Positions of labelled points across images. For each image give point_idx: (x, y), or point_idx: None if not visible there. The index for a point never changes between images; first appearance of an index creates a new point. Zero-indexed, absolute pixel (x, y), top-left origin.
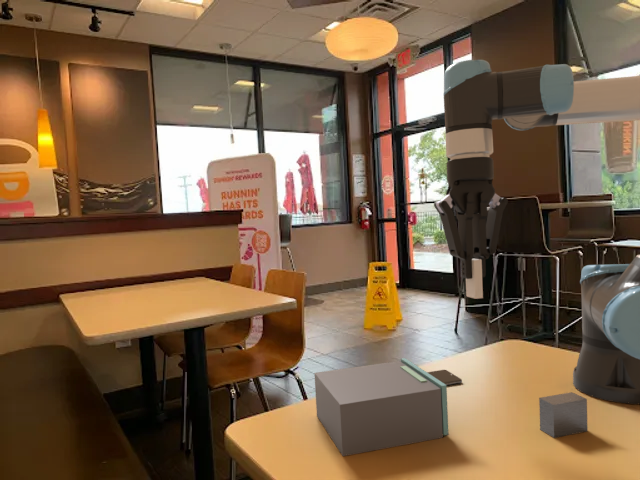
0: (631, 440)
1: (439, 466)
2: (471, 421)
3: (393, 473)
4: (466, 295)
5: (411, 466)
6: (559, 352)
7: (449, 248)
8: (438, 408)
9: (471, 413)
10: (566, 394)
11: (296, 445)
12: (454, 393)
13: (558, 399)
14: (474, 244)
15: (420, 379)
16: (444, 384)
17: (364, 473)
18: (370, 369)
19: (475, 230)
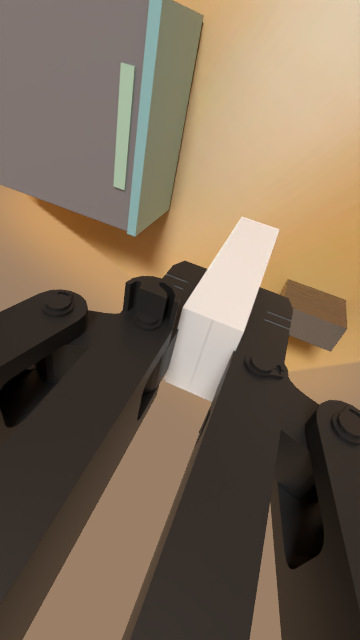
0: (341, 361)
1: (118, 251)
2: (234, 194)
3: (72, 229)
4: (241, 218)
5: (93, 232)
6: None
7: (3, 322)
8: None
9: (261, 170)
10: (328, 326)
11: None
12: (333, 47)
13: (297, 325)
14: (199, 441)
15: (116, 177)
16: (134, 232)
17: (46, 210)
18: (55, 20)
19: (136, 608)
